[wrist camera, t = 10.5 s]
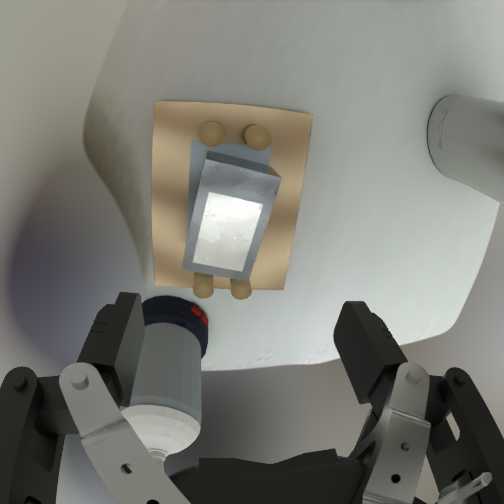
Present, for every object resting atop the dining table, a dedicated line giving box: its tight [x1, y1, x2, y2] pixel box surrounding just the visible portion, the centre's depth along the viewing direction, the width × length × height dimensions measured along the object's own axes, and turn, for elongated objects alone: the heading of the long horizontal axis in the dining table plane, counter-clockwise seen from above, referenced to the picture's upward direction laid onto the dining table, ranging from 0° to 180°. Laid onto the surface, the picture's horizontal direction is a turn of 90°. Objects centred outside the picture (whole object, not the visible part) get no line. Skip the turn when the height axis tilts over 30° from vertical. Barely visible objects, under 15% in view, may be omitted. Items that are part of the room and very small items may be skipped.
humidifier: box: [119, 296, 208, 471], centre depth 19 cm, size 8×8×25 cm
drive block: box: [181, 150, 282, 282], centre depth 21 cm, size 5×8×4 cm, turn 164°
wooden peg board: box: [151, 101, 313, 300], centre depth 22 cm, size 16×12×5 cm
